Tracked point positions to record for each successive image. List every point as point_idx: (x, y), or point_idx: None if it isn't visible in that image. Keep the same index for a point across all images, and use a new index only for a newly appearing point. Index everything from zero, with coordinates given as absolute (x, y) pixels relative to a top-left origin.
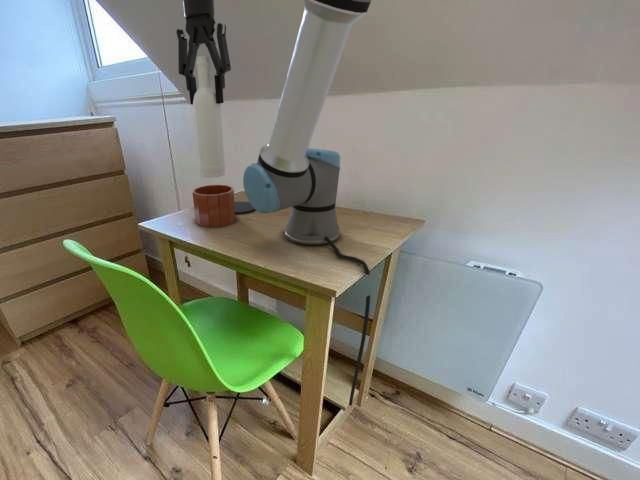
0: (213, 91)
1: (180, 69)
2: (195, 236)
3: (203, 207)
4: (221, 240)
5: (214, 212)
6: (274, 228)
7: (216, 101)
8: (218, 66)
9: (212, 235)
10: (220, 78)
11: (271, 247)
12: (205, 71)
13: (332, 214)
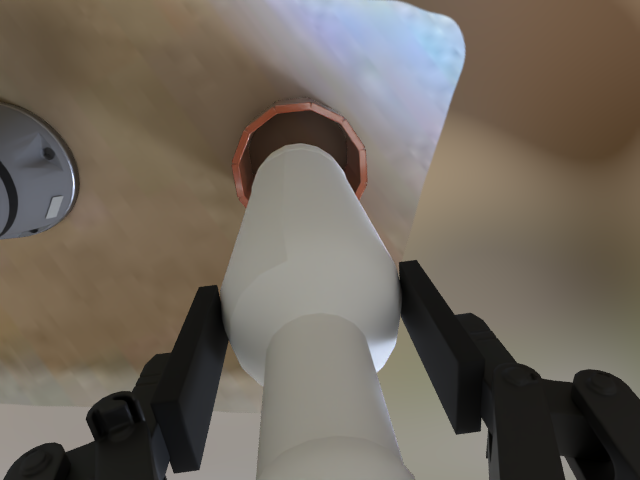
0: (241, 340)
1: (613, 403)
2: (265, 18)
3: (292, 101)
4: (182, 28)
5: (261, 113)
6: (121, 173)
7: (211, 290)
8: (99, 471)
9: (229, 48)
10: (142, 404)
11: (38, 49)
12: (274, 414)
13: None
